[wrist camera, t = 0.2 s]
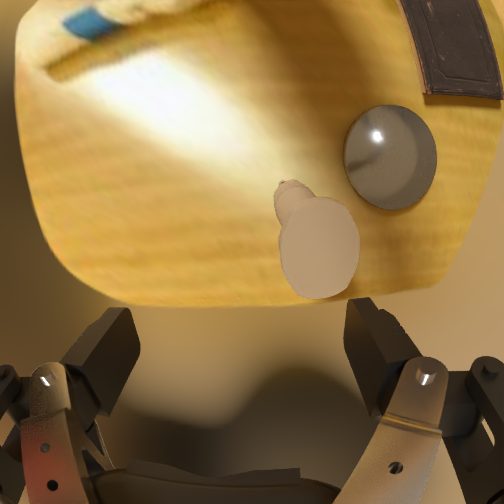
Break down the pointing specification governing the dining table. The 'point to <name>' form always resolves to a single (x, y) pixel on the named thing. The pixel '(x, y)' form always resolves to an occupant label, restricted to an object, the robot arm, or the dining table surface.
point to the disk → (390, 156)
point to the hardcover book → (452, 48)
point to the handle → (315, 241)
